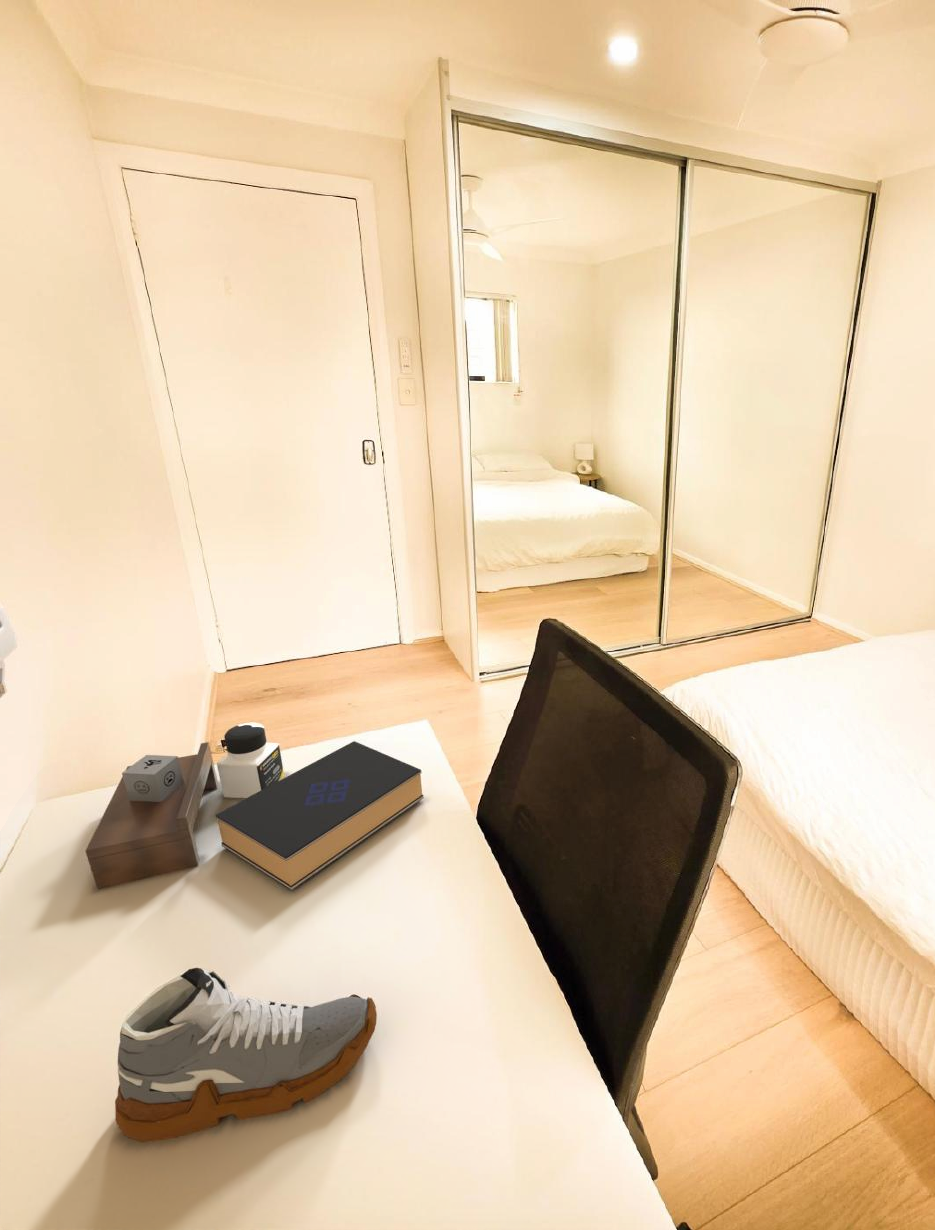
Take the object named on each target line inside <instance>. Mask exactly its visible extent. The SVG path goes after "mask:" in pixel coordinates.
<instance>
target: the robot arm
mask: <svg viewBox="0 0 935 1230" xmlns="http://www.w3.org/2000/svg"><path fill="white" fill-rule="evenodd" d="M17 647H18V638H17V635H16V632H15V629H14V627H13V624H12V622H11V620H10V618H9V615H8V613H7V611H6V608H5V607H4V605H3V604H2V603H1V602H0V699H1V698H2V697H3V696H4V695H6V693H7V692H8V689H7V685H6V683H5V675H6V665H5V664H6V663H5V661H4V660H5V659H6V658H7V657H8V656H10V655H12V654H13V652H15V651H16V650H17Z"/></svg>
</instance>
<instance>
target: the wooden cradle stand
mask: <svg viewBox="0 0 935 1230" xmlns="http://www.w3.org/2000/svg"><path fill="white" fill-rule="evenodd" d="M213 759H214V758H213V754H212V750H211V744H210V742H209V741H207V742H206V741H205V742H201V743H200V745H199V749H198V752H197V754H191V755H190V754H189V755H186V756H180V757H179V756H178V760H179V764H180V768H181V772H182V777H183V781H184V783H183V784H182V785H181V786H180V787H178V788H177V789H176V790H175V791H174V792H173V793H171V794H170V795H169V796H168V797H167V798H166V799H164V800H163V801H162V802H151V801H129V797H128V793H127V790H126V786H125V783H124V779H123V776H121V778H120V780H119V783H118V784H117V787H116V789H115V791H114V793H113V795H112V796H111V799H110V801H109V803H108V804H107V806H106V808H105V811H104V812H103V815H102V816H101V819H100V821H99V822H98V824H97V827H96V829H95V830H94V833H93V835H92V837H91V838H90V840H89V843H88V845H87V847H86V849H85V850H84V851H85V856H86V858H87V861H88V864H89V867H90V870H91V874H92V876H93V880H94V883H95V886H96V889H97V890H98V891H99V890H103V889H107V888H111V887H115V886H120V885H124V884H129V883H133V882H136V881H140V880H145V879H150V878H153V877H158V876H162V875H166V874H170V873H171V874H172V873H175V872H179V871H184V870H187V869H191V868H196V867H199V865H200V856H199V852H198V848H197V843H196V840H195V836H194V832H193V831H194V830H193V829H194V826H195V823H196V819H197V816H198V812H199V809H200V808H199V807H200V806H201V802H202V797H203V794H204V792H208V791H212V790H218V788H219V782H218V778H217V776H218V775H217V772H216V767H215V764H214V763H215V762H214V760H213ZM131 766H132V765H128V766H127V767H126V769H125V770H127V769H128V768H129V767H131Z"/></svg>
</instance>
